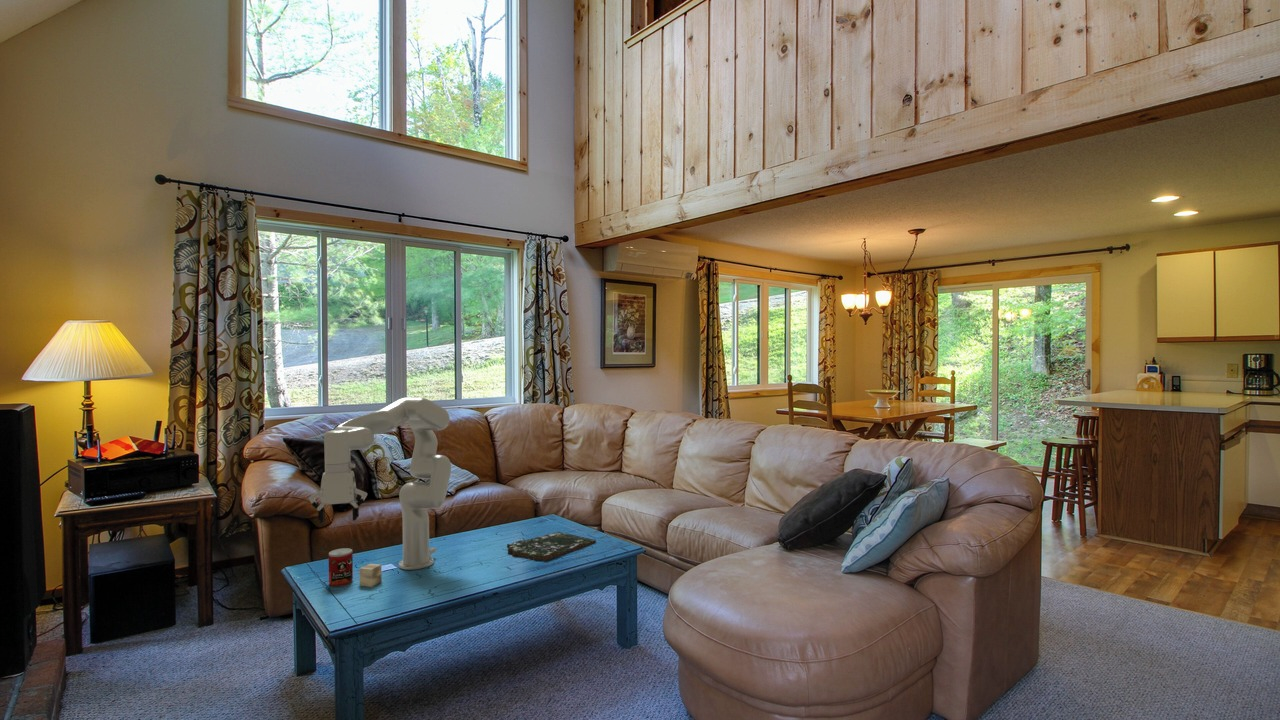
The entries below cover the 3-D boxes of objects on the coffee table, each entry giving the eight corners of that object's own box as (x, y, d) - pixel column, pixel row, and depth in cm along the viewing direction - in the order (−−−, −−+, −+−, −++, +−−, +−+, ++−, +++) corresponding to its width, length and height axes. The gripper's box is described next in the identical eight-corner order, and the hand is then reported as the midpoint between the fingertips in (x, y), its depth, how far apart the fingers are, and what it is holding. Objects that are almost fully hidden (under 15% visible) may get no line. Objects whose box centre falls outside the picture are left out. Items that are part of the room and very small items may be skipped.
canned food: (329, 588, 209) (329, 556, 209) (327, 581, 216) (327, 550, 216) (354, 583, 213) (353, 552, 213) (351, 577, 220) (351, 546, 220)
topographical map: (595, 543, 258) (595, 536, 258) (539, 565, 232) (539, 557, 232) (552, 534, 273) (552, 527, 273) (495, 553, 247) (495, 545, 247)
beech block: (369, 580, 216) (369, 563, 216) (381, 581, 215) (381, 564, 215) (359, 585, 211) (359, 568, 211) (371, 586, 210) (371, 569, 210)
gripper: (368, 464, 202) (369, 515, 203) (311, 467, 198) (312, 519, 198) (364, 468, 195) (365, 521, 195) (305, 472, 191) (306, 526, 191)
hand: (338, 520), depth 197 cm, fingers open, 9 cm apart
